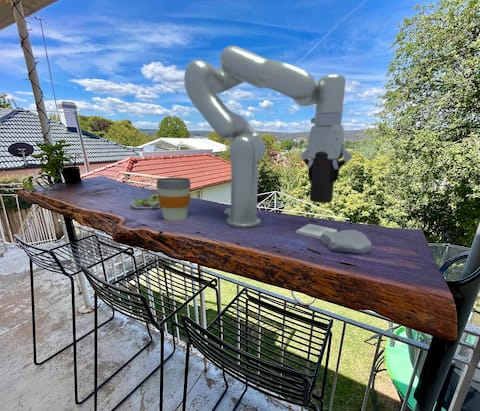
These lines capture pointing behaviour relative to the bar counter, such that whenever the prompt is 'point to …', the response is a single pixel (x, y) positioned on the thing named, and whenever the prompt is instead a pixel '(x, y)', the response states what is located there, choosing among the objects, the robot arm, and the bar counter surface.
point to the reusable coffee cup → (174, 197)
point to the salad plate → (147, 203)
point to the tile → (314, 230)
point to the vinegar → (321, 178)
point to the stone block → (346, 241)
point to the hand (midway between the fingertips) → (322, 180)
